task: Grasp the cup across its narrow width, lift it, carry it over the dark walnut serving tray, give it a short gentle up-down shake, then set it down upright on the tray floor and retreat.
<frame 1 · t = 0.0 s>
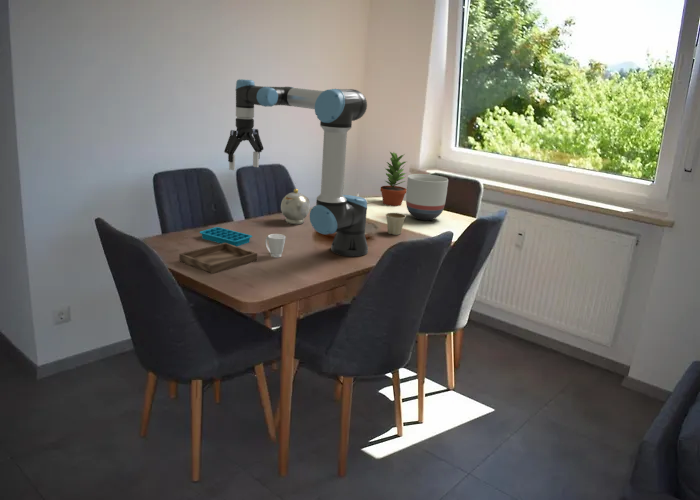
hand: (244, 168, 256), 28 cm above the table, fingers open, 13 cm apart
potted plant: (392, 203, 336), on the table
tray: (218, 261, 224), on the table
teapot: (296, 222, 285), on the table
cup: (273, 255, 236), on the table
planter: (423, 219, 307), on the table
flower pot: (394, 233, 277), on the table
ice cube tray: (225, 241, 250), on the table
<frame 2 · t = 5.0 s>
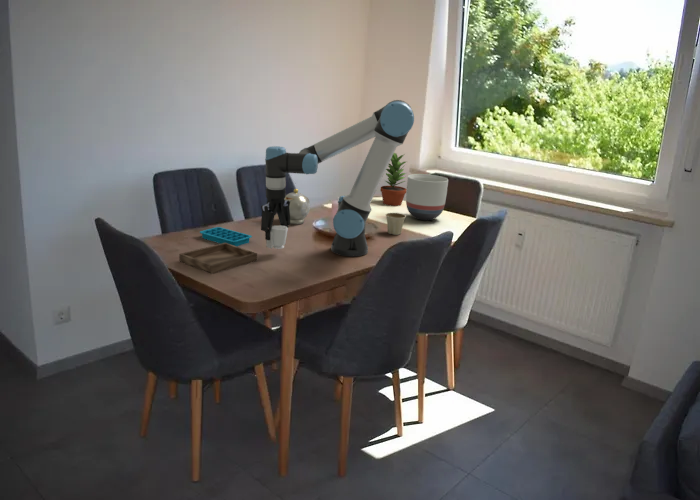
hand: (276, 245, 234), 4 cm above the table, fingers closed on cup, 6 cm apart
cup: (276, 246, 234), point 3 cm above the table, touching gripper
everything else where it was.
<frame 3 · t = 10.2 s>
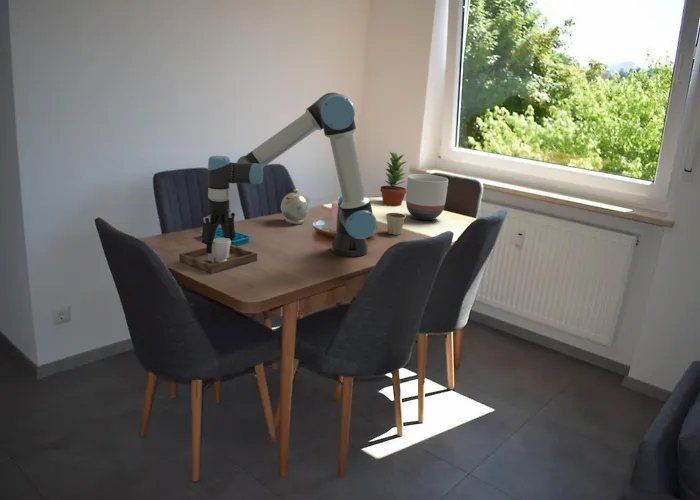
hand: (218, 259, 224), 1 cm above the table, fingers closed on cup, 6 cm apart
cup: (218, 260, 224), resting on tray, touching gripper
everything else where it was.
when the fingers open (1 cm above the table, at t = 10.8 s): cup stays where it is, resting on tray.
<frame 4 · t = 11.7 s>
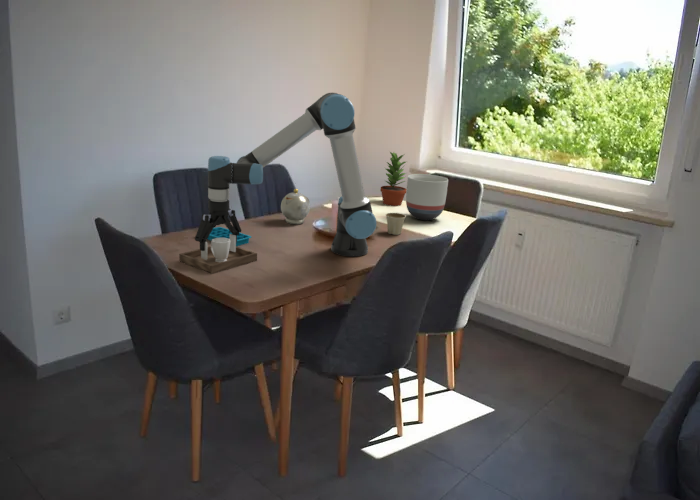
hand: (218, 254, 223), 3 cm above the table, fingers open, 13 cm apart
cup: (218, 260, 224), resting on tray
everything else where it was.
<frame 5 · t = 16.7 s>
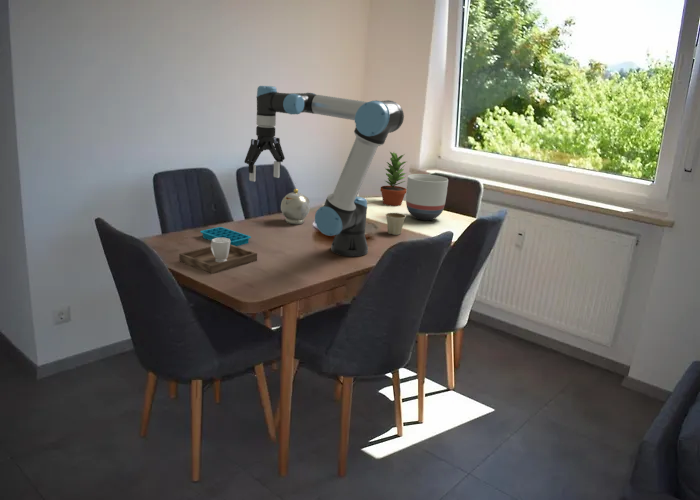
hand: (264, 179, 243), 27 cm above the table, fingers open, 13 cm apart
nothing on the table moved.
at the end: cup inside the target area on the tray (0.1 cm from its centre), point 0.4 cm above the tray's base; cup tilted 0°; the gripper is holding nothing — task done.
